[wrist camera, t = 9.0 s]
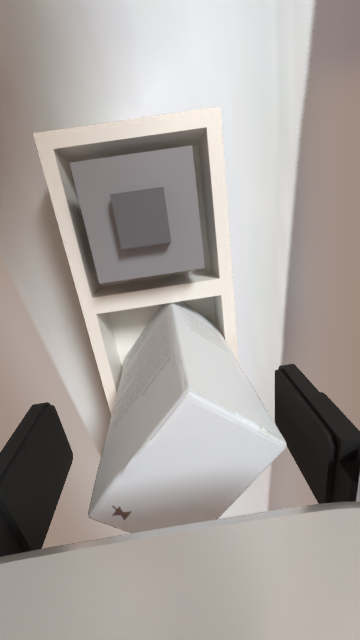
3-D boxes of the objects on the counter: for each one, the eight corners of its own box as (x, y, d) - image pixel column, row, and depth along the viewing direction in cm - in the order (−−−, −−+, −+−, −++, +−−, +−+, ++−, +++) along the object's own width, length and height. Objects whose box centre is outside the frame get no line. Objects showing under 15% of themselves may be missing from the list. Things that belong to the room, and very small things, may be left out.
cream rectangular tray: (61, 154, 16) (30, 131, 12) (206, 133, 17) (221, 104, 13) (122, 392, 22) (113, 428, 18) (228, 376, 22) (242, 408, 19)
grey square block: (93, 178, 16) (64, 159, 11) (183, 166, 16) (193, 141, 11) (113, 269, 18) (96, 286, 13) (194, 257, 18) (206, 269, 13)
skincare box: (172, 381, 21) (185, 559, 10) (124, 355, 20) (79, 521, 9) (218, 320, 20) (294, 448, 8) (169, 289, 19) (183, 387, 7)
